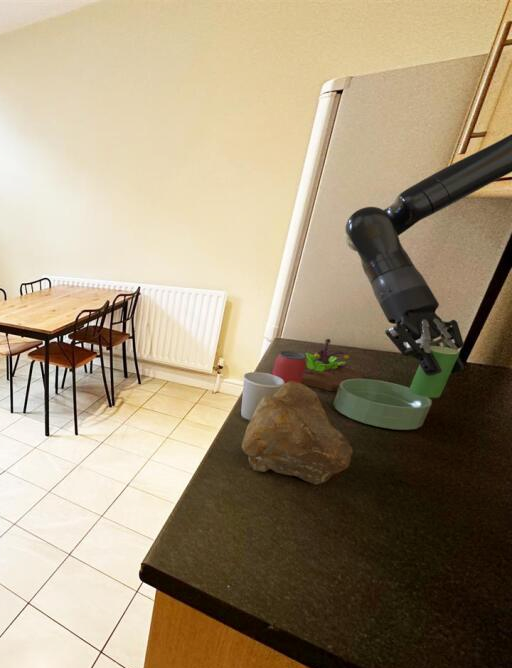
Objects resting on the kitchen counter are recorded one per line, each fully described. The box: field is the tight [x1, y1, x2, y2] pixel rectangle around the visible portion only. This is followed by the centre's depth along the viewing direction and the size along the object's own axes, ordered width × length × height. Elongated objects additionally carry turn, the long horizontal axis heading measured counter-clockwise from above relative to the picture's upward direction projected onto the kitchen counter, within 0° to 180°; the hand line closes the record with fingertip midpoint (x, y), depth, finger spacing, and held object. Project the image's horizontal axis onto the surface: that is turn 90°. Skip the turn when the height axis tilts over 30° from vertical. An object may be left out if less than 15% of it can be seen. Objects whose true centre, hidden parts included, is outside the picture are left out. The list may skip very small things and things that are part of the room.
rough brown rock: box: [241, 381, 354, 485], centre depth 79 cm, size 23×17×15 cm
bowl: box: [333, 378, 433, 431], centre depth 98 cm, size 16×16×6 cm
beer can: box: [271, 350, 307, 387], centre depth 107 cm, size 7×7×12 cm
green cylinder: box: [409, 345, 460, 399], centre depth 79 cm, size 4×4×9 cm
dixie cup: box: [240, 371, 285, 421], centre depth 98 cm, size 8×8×10 cm
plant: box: [301, 338, 363, 393], centre depth 118 cm, size 20×20×11 cm
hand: (446, 372), depth 77 cm, fingers closed on green cylinder, 4 cm apart
